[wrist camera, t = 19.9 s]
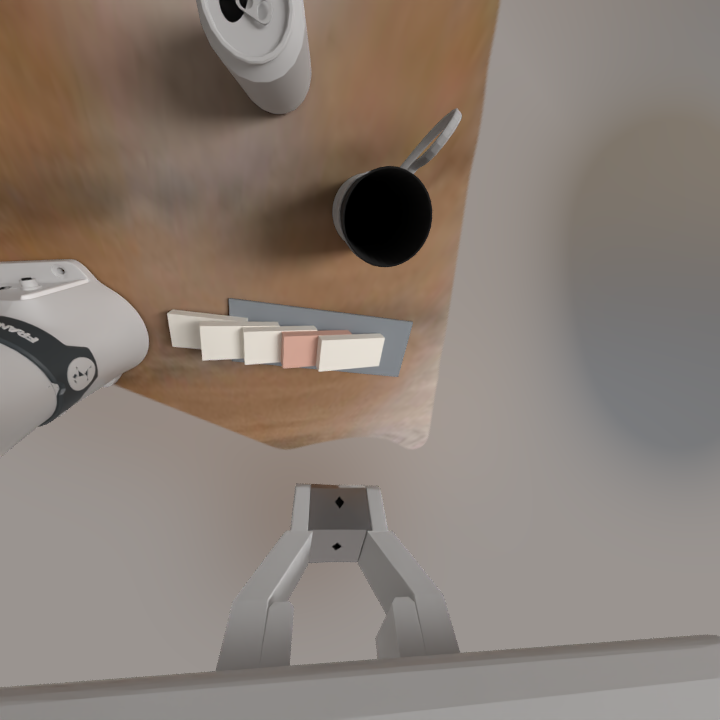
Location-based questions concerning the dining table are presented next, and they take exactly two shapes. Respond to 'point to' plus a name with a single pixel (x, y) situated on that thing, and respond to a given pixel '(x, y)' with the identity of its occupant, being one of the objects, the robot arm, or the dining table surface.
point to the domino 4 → (303, 347)
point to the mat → (330, 320)
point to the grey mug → (390, 205)
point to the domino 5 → (348, 351)
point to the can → (262, 48)
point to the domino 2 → (225, 338)
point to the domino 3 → (266, 343)
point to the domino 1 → (192, 326)
